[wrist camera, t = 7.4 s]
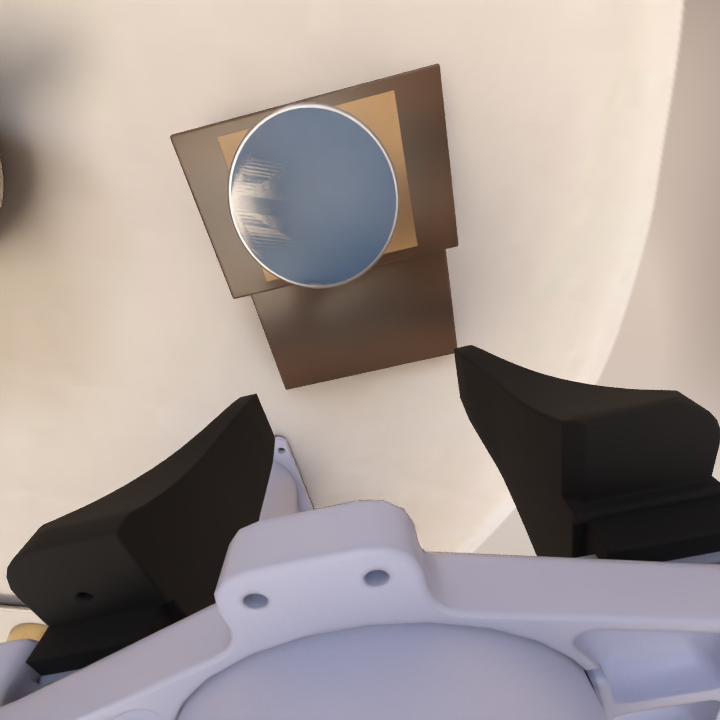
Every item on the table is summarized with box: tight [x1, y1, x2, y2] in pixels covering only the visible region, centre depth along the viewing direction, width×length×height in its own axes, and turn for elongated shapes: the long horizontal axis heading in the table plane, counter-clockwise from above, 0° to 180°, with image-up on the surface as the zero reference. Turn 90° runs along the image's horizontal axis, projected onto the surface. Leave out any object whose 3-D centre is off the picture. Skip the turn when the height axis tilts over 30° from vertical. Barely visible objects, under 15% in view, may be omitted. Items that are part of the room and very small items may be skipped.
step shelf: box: [170, 64, 458, 390], centre depth 19 cm, size 14×11×4 cm
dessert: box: [0, 605, 49, 643], centre depth 34 cm, size 12×12×5 cm
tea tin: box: [227, 102, 400, 289], centre depth 14 cm, size 5×5×6 cm
